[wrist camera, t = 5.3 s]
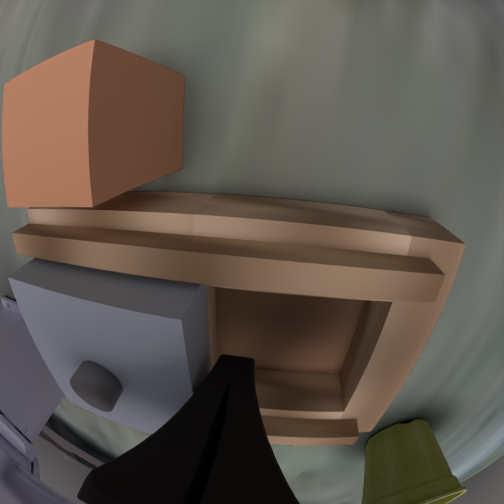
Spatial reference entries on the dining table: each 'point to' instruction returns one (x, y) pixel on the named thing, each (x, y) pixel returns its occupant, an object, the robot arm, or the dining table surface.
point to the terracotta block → (90, 127)
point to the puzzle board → (280, 291)
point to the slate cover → (117, 338)
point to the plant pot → (407, 467)
